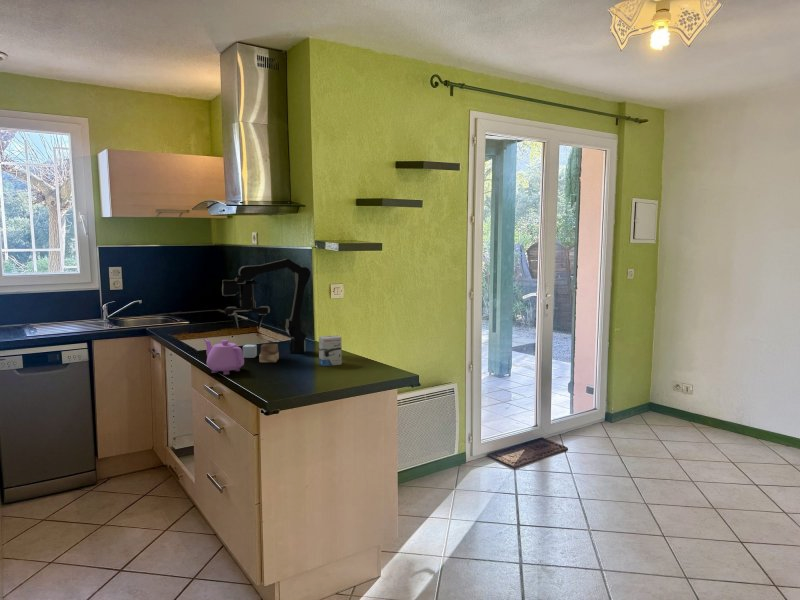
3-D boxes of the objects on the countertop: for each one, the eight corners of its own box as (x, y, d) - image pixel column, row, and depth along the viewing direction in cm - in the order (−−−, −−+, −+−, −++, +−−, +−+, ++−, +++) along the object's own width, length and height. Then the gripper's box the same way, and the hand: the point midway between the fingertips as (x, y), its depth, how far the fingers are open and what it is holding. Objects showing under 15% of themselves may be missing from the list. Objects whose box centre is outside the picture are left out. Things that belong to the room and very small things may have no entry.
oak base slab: (278, 359, 244) (278, 351, 243) (275, 362, 237) (275, 354, 236) (262, 359, 244) (262, 351, 243) (259, 362, 237) (259, 354, 236)
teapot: (191, 372, 219) (190, 340, 217) (218, 364, 231) (217, 335, 230) (230, 378, 210) (229, 345, 209) (255, 370, 223) (255, 339, 221)
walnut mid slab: (277, 351, 243) (277, 343, 242) (275, 354, 237) (274, 346, 236) (264, 351, 243) (263, 343, 242) (260, 354, 237) (260, 346, 236)
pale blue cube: (256, 355, 250) (256, 344, 250) (254, 357, 245) (254, 346, 245) (245, 355, 250) (245, 344, 250) (242, 358, 245) (242, 346, 245)
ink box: (322, 366, 229) (322, 338, 228) (318, 364, 234) (318, 336, 232) (342, 364, 233) (341, 336, 232) (337, 362, 237) (337, 334, 236)
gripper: (271, 292, 254) (272, 326, 256) (229, 293, 253) (231, 327, 255) (267, 295, 243) (268, 330, 245) (223, 295, 242) (225, 331, 244)
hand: (248, 329), depth 247 cm, fingers open, 9 cm apart
